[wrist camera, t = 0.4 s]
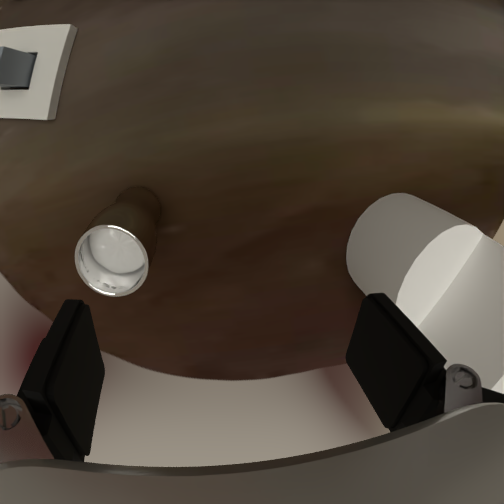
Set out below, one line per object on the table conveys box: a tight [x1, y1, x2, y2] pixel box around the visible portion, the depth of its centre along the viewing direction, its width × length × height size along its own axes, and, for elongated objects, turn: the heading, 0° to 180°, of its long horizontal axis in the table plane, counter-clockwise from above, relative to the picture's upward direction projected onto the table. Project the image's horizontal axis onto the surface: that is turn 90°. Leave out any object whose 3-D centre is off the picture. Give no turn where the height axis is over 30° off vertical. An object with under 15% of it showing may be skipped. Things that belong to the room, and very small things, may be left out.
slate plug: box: [0, 46, 37, 88], centre depth 22 cm, size 4×4×10 cm
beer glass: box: [75, 187, 161, 297], centre depth 31 cm, size 7×7×15 cm
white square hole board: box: [0, 24, 78, 120], centre depth 25 cm, size 12×12×2 cm
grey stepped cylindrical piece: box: [346, 193, 504, 394], centre depth 34 cm, size 17×17×28 cm
